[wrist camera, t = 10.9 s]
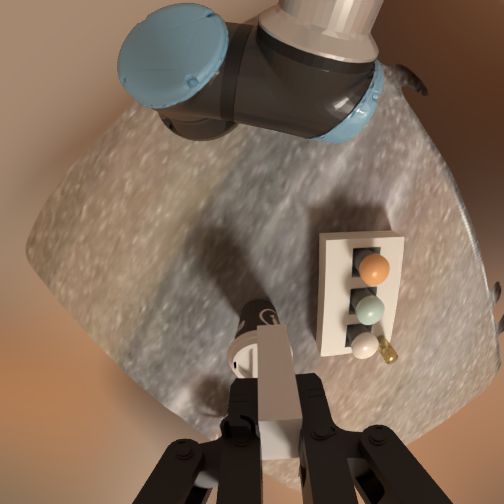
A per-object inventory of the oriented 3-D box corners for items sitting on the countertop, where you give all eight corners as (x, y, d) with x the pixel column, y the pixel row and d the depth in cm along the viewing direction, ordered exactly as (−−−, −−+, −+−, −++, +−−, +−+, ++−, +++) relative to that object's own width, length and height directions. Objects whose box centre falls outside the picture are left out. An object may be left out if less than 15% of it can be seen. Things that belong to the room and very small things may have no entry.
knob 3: (340, 312, 53) (354, 337, 44) (363, 309, 52) (380, 334, 44) (338, 333, 54) (351, 360, 45) (360, 330, 54) (376, 356, 45)
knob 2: (342, 278, 51) (359, 300, 42) (366, 276, 50) (386, 297, 42) (341, 302, 52) (356, 326, 43) (364, 299, 52) (382, 323, 43)
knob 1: (344, 240, 49) (362, 256, 40) (369, 239, 49) (390, 254, 40) (343, 267, 50) (360, 287, 41) (367, 265, 50) (388, 284, 41)
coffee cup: (244, 284, 51) (241, 328, 37) (293, 302, 52) (306, 350, 38) (225, 326, 54) (217, 378, 39) (271, 342, 55) (276, 395, 40)
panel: (319, 233, 48) (326, 240, 43) (391, 230, 48) (404, 236, 43) (315, 342, 54) (320, 356, 50) (379, 334, 54) (388, 347, 49)
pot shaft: (375, 336, 49) (387, 354, 43) (386, 334, 48) (399, 352, 43) (373, 346, 49) (384, 365, 43) (384, 344, 49) (396, 362, 43)
